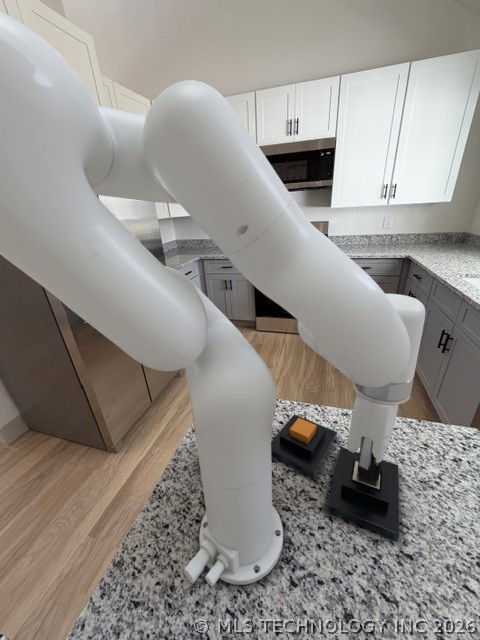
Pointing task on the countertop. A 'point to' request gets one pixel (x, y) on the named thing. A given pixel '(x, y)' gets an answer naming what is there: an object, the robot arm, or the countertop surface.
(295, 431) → the amber key
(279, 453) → the rear keypad
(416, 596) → the countertop surface
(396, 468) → the front keypad
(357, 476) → the white key
